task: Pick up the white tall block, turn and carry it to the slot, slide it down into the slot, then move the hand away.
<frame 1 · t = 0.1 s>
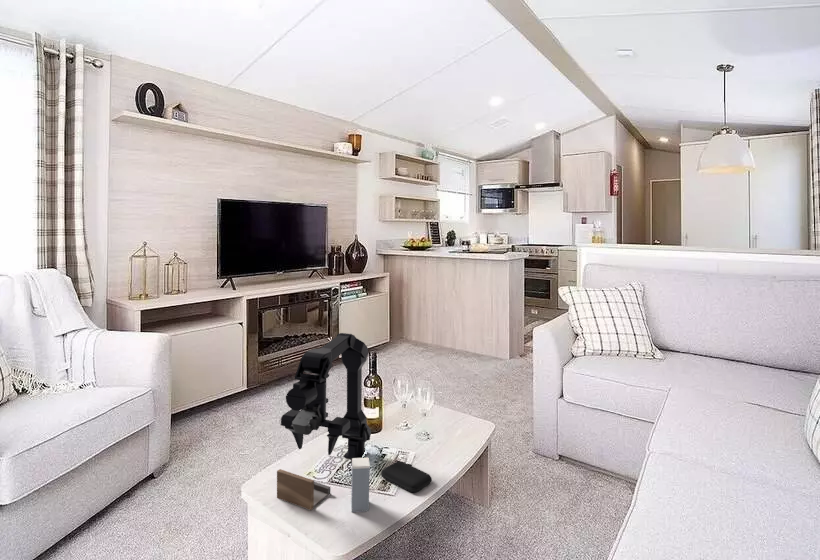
hand: (314, 451, 126), 15 cm above the table, tool pointing down, fingers open, 9 cm apart
slot: (303, 495, 130), on the table
white tall block: (359, 506, 126), on the table
carrying case or bag: (407, 480, 141), on the table
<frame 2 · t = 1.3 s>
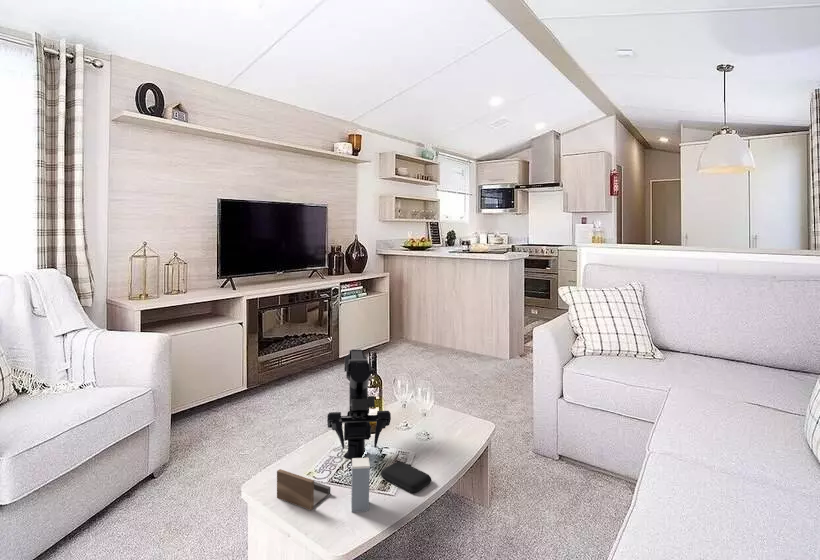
hand: (359, 447, 132), 13 cm above the table, tool tilted 45°, fingers open, 9 cm apart
nothing on the table moved.
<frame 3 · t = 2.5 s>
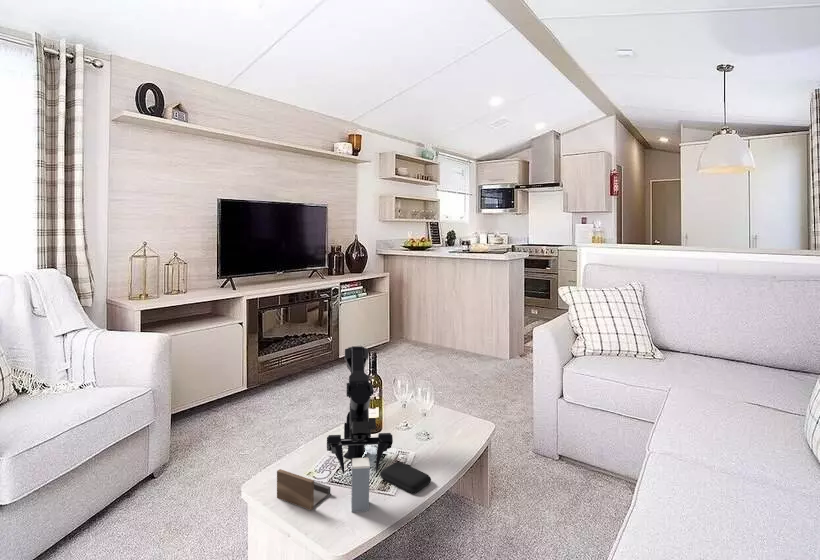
hand: (360, 472, 127), 9 cm above the table, tool tilted 45°, fingers open, 9 cm apart
nothing on the table moved.
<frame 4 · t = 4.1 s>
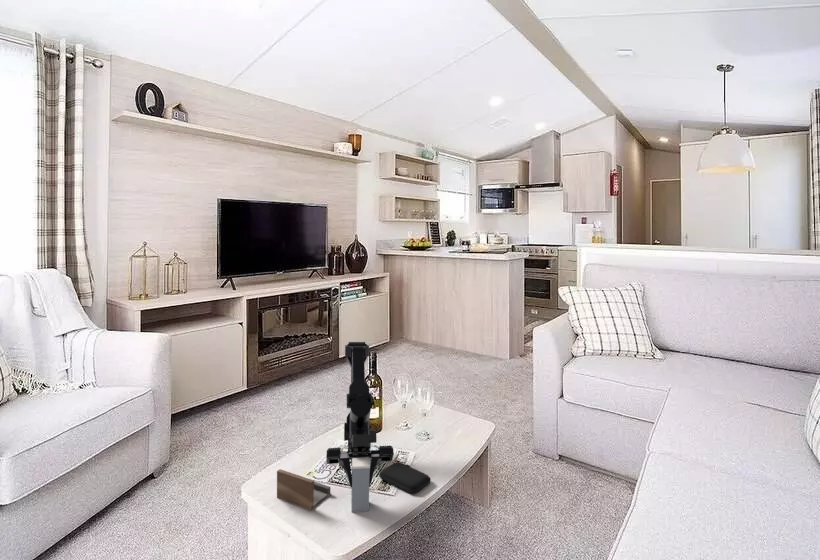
hand: (360, 486, 124), 7 cm above the table, tool tilted 45°, fingers closed on white tall block, 5 cm apart
white tall block: (359, 506, 126), on the table, touching gripper
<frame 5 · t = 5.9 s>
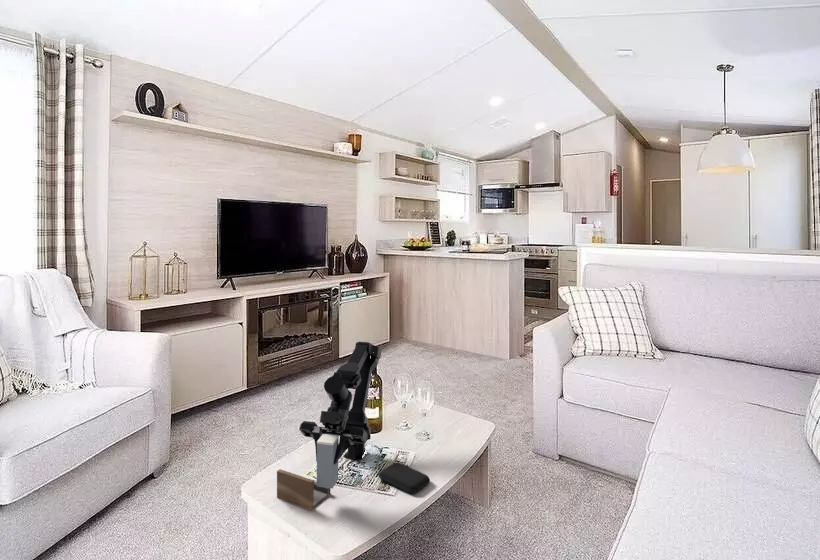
hand: (325, 462, 125), 12 cm above the table, tool tilted 45°, fingers closed on white tall block, 5 cm apart
white tall block: (327, 482, 127), point 6 cm above the table, touching gripper
when the fingers open (8 cm above the table, at t = 8.2 s): white tall block stays where it is, resting on slot.
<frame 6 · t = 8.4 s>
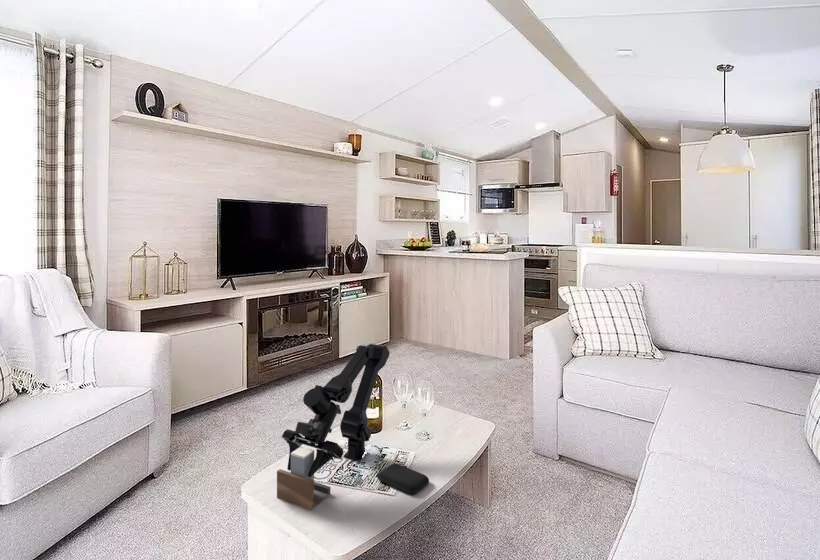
hand: (298, 473, 127), 8 cm above the table, tool tilted 45°, fingers open, 7 cm apart
white tall block: (302, 495, 130), point 1 cm above the table, touching slot
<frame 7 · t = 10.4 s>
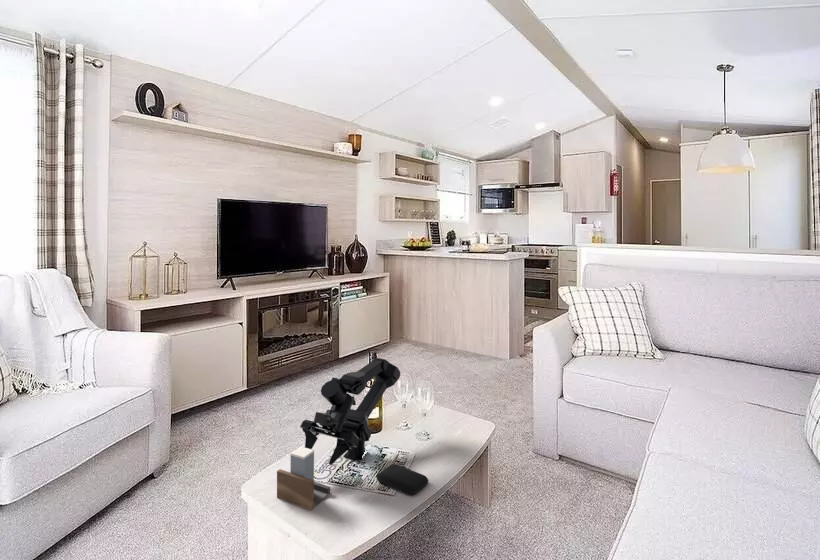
hand: (317, 460, 135), 8 cm above the table, tool tilted 45°, fingers open, 9 cm apart
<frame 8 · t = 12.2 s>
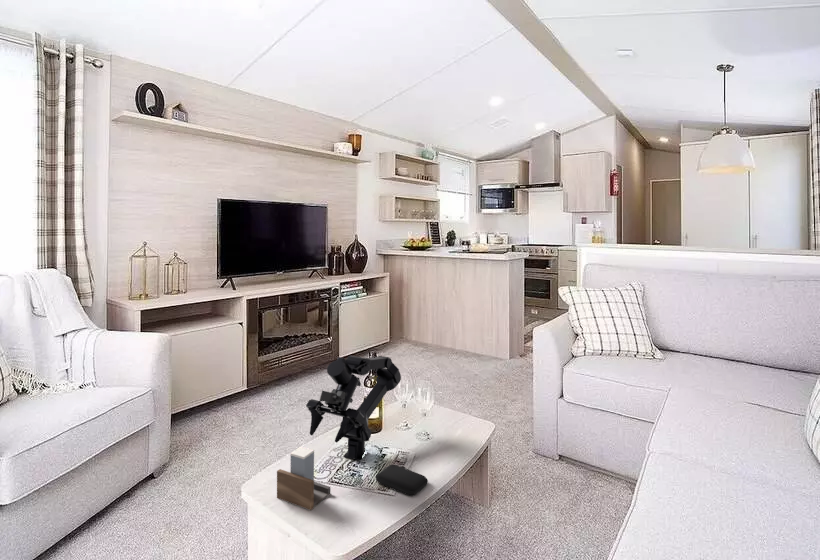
hand: (323, 438, 136), 14 cm above the table, tool tilted 45°, fingers open, 9 cm apart
at the end: white tall block inside the target area on the slot (0.8 cm from its centre), point 0.6 cm above the slot's base; white tall block tilted 0°; the gripper is holding nothing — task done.
